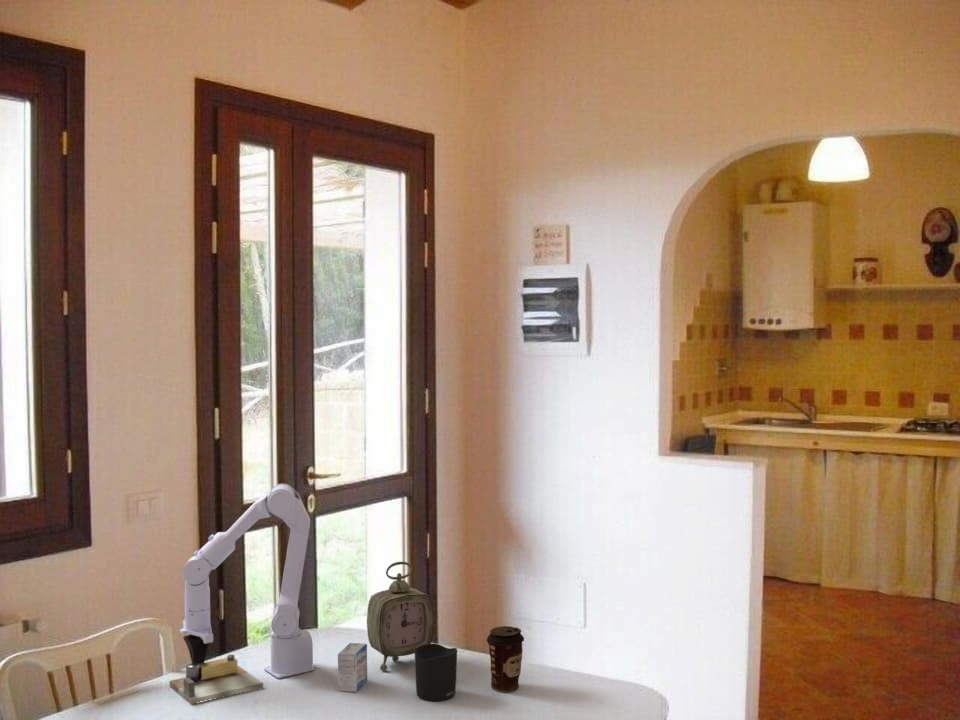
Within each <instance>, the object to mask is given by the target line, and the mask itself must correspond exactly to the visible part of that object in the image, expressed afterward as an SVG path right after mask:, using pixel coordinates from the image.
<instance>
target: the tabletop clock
mask: <svg viewBox="0 0 960 720" xmlns="http://www.w3.org/2000/svg"><path fill="white" fill-rule="evenodd" d="M399 565H405V566H407V567H409V569H410V571H409V572H408V573H405V575H404V574H403V575H402V573H400V572H398V573H397V574H396V576H390V575H389V573H388V572H389V571H390V570H391V569H392V568H394V567H395V566H399ZM412 572H413V567H412V564H410V562H406V561H395V562H393V563H391V564H390V565H389V566H388V567H387V568H386V571H385V575H386V577H387V578H388V579H390V580H392V581H391V583H390V584H389V587H388V589H385V590H381V591H378V592H376V593H374V594H372V595H371V596H370V597H369V601H368V603H367V614H366V627H367V628H366V629H367V630H366V631H367V632H366V633H367V638H368V642H369V645H370V647H371V648H372V649H374V650H375V651H377V652H378V653H380V654H382V655H383V663H382V664H380V666H379V668H380V671H382V672H385V671H387V669H388V666H387V664H386V663H387V661H388V658H389V657H390V658H392V659H391V661H392V662H394V663H397V662H398V661H399V660H400V658H399V657H403V656H410V655H415V649H416V648H417V647H419V646H421V645H425V644H432V642H433V638H434V627H435V625H434V623H435V619H434V618H435V616H434V607H433V602H432V599H431V596H430V595H428V594H426V593H424V592H422V591H421V590H419V589H416V588H414V587H410V585H409V583H408V582H407V581H406V580H404V579H406V578H408V577H409V576H410V575H411V574H412Z"/></svg>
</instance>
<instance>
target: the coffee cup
mask: <svg viewBox="0 0 960 720" xmlns="http://www.w3.org/2000/svg"><path fill="white" fill-rule="evenodd" d="M521 633H522V629H520V628H519V627H514V626H506V625H504V626H496V627H494V628H492V629H491V630H490V631H489V635H487V638H486V642H487V644H488V648H489V651H488V652H489V660H490V673H491V674H490V675H491V683H490V686H491V687H490V688H491V689H492V690H494V691H496V692H501V693H506V692H514V691H516V690H518V689H519V688H520V684H519V683H520V682H519V679H520V674H521V671H522V669H521V668H522V660H523V642H524V641H525V637H524V636H523V634H521Z"/></svg>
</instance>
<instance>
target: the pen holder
mask: <svg viewBox="0 0 960 720" xmlns="http://www.w3.org/2000/svg"><path fill="white" fill-rule="evenodd" d="M457 662H458V648H456V647H452V648H451V647H450V648H449V647H446V646H443V645H441V644H438V643H431V644H425V645H421V646H419V647H417V648H416V649H415V653H414V667H415V668H414V669H415V689H416V691H415V692H416V696H417V697H418V698H419V699H420V700H423V701H425V702H444V701H448V700H451V699H452V698H454V696H455V695H456V691H457V690H456V689H457V665H458V664H457Z"/></svg>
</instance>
